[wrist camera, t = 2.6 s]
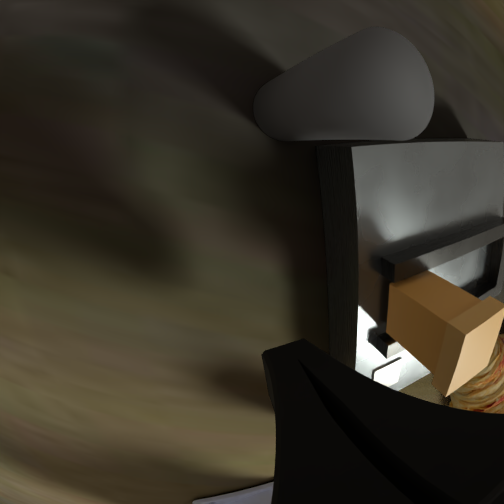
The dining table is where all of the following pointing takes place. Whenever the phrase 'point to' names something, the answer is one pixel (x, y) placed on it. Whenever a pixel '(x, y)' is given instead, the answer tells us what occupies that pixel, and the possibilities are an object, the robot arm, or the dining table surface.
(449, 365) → the switch knob
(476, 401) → the croissant
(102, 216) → the dining table surface
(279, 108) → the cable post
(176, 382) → the dining table surface
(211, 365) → the dining table surface
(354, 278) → the panel
